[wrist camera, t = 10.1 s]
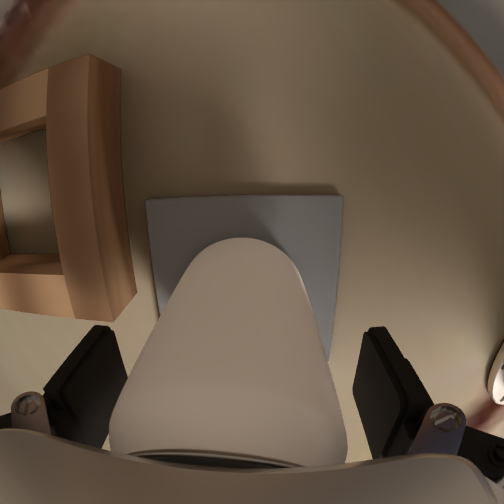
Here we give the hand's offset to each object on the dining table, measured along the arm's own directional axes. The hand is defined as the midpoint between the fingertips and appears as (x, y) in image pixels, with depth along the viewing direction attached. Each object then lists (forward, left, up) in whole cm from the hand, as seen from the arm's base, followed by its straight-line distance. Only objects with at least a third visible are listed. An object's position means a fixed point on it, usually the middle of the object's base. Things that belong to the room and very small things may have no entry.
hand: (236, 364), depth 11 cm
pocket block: (+13, -6, -7) cm, 16 cm away
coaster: (0, 0, -7) cm, 7 cm away
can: (0, 0, -6) cm, 6 cm away
